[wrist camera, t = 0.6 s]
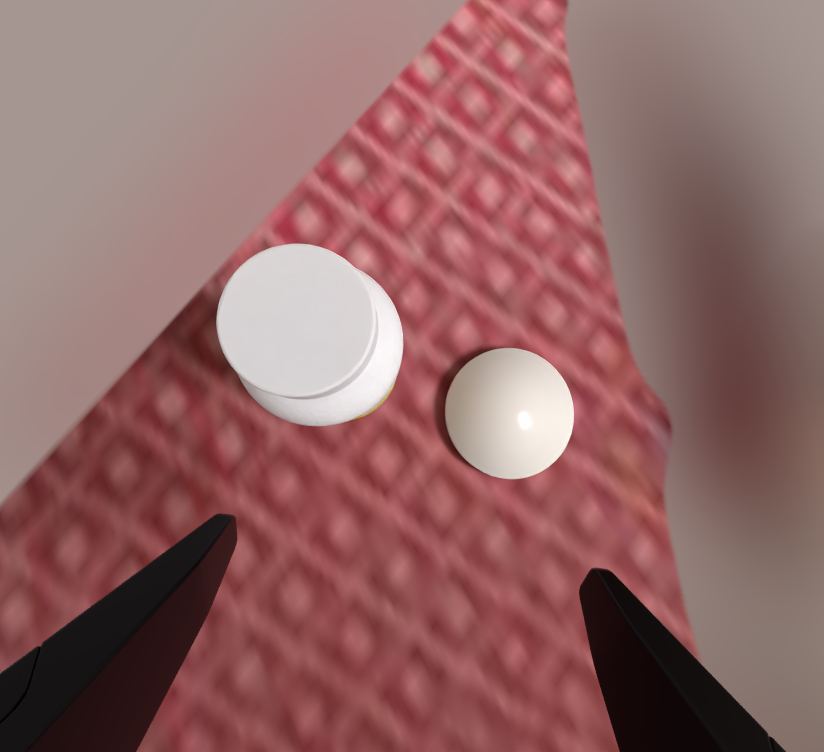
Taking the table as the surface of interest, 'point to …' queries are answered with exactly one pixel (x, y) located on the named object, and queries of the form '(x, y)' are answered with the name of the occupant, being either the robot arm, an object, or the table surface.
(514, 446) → the cream round disc
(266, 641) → the table surface
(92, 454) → the table surface
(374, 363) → the supplement bottle
